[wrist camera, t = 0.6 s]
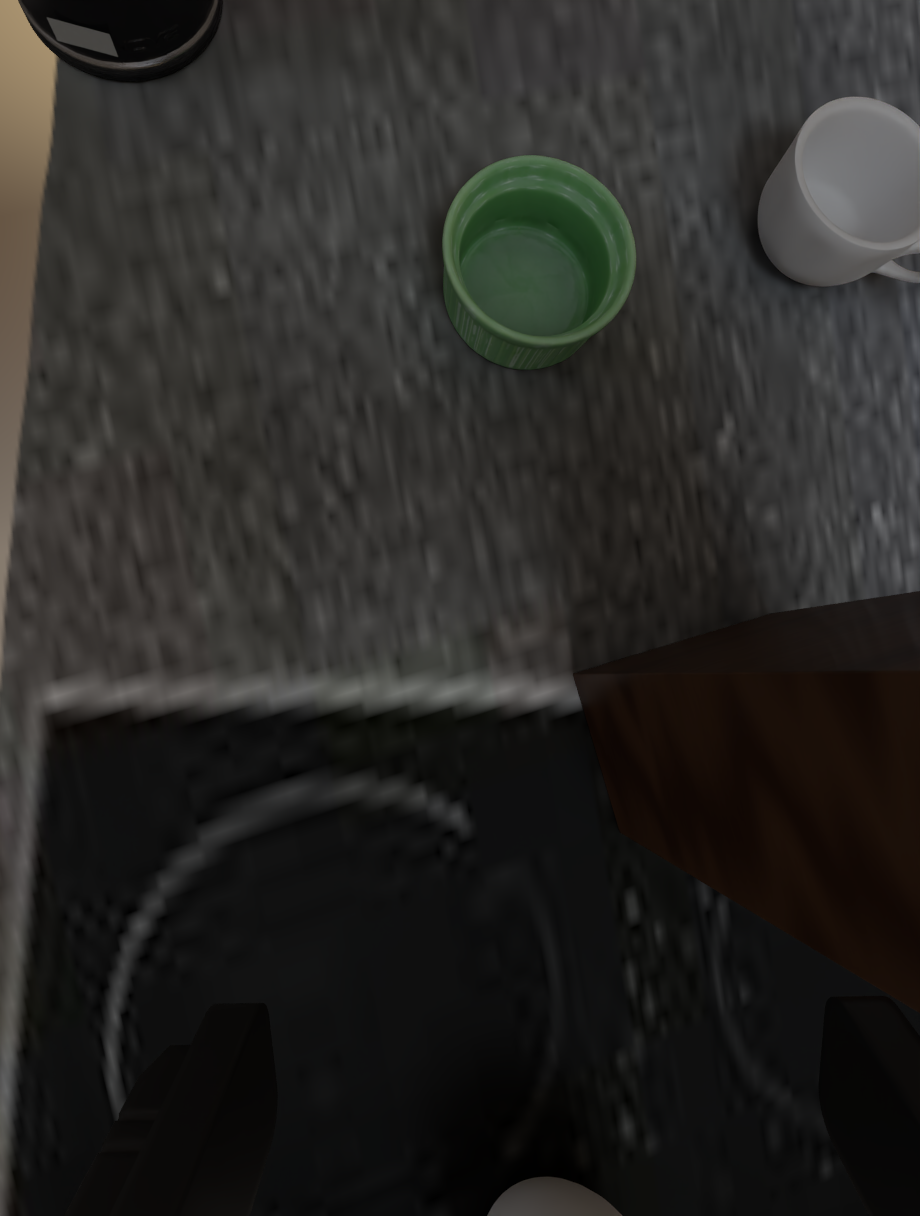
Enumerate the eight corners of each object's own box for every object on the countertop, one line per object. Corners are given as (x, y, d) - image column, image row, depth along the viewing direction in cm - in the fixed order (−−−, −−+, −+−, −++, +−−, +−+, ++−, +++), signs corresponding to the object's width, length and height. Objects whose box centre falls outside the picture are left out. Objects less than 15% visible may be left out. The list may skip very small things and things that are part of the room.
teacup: (709, 248, 39) (764, 180, 34) (781, 144, 40) (845, 63, 35) (856, 360, 40) (933, 311, 34) (922, 254, 41) (1007, 192, 35)
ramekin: (442, 386, 36) (453, 347, 32) (424, 214, 37) (433, 152, 33) (614, 379, 38) (648, 340, 33) (594, 212, 38) (625, 153, 34)
